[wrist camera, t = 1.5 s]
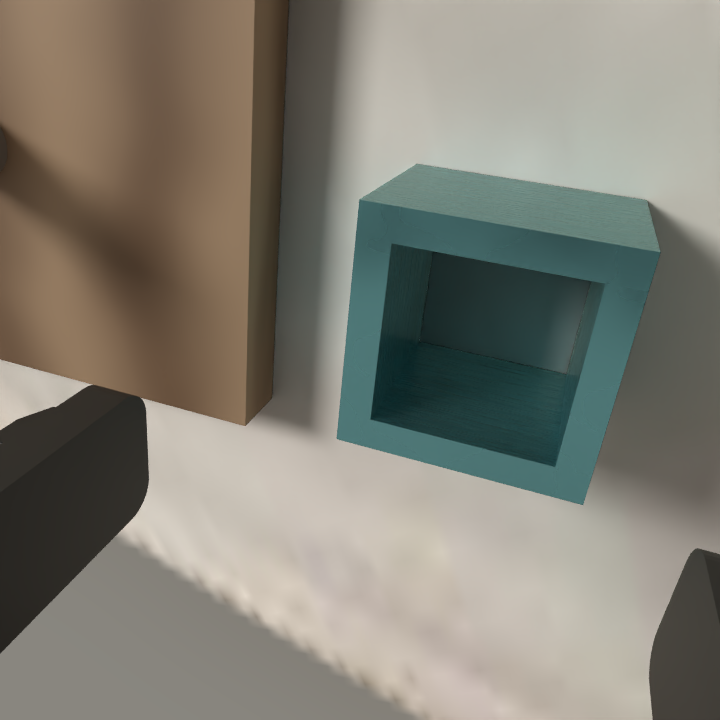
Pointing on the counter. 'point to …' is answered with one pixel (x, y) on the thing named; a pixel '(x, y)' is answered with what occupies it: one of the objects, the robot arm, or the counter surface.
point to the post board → (143, 195)
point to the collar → (480, 373)
